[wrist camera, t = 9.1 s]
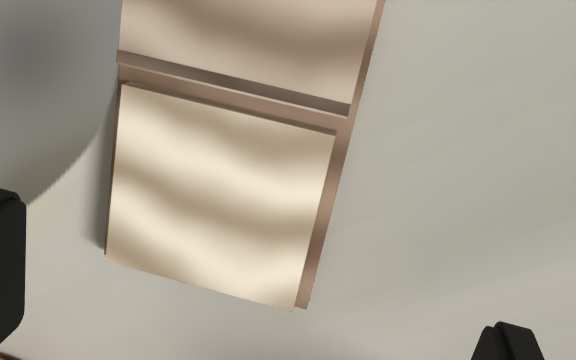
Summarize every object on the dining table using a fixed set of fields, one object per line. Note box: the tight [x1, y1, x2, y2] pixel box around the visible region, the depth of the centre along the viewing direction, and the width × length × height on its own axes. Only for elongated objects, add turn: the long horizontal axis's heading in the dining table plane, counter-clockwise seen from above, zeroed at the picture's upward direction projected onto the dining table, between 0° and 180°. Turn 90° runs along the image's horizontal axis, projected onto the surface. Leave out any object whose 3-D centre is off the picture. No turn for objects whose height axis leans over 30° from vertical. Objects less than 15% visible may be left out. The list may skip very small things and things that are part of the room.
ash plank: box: [105, 81, 337, 312], centre depth 39 cm, size 14×15×2 cm
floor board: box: [104, 0, 385, 309], centre depth 38 cm, size 26×17×3 cm, turn 169°
